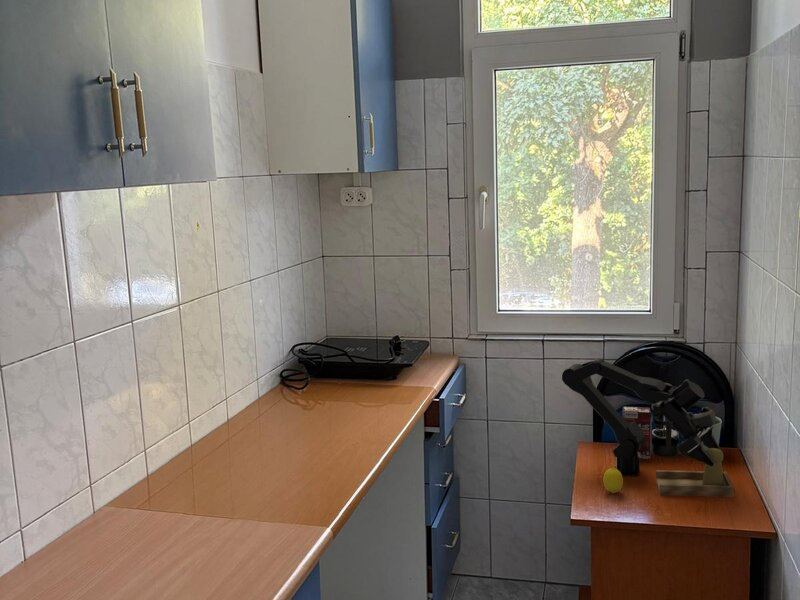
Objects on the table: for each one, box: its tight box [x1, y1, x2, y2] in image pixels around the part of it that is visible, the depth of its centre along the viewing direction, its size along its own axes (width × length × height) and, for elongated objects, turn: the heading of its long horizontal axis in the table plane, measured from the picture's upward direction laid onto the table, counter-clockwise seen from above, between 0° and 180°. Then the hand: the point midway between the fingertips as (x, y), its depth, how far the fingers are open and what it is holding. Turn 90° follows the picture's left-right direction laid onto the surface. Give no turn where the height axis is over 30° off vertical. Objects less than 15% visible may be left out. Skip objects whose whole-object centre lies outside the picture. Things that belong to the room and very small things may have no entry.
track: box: [655, 469, 735, 498], centre depth 232 cm, size 20×10×3 cm, turn 79°
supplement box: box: [622, 406, 652, 460], centre depth 255 cm, size 9×5×16 cm, turn 77°
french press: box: [650, 382, 680, 458], centre depth 257 cm, size 12×9×23 cm
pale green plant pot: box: [693, 413, 723, 451], centre depth 253 cm, size 10×10×12 cm
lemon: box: [602, 467, 624, 494], centre depth 231 cm, size 6×6×8 cm
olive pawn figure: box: [702, 448, 724, 486], centre depth 230 cm, size 6×6×11 cm
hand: (716, 459), depth 229 cm, fingers open, 9 cm apart
